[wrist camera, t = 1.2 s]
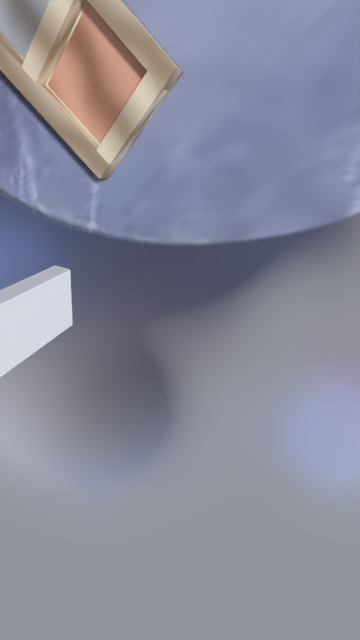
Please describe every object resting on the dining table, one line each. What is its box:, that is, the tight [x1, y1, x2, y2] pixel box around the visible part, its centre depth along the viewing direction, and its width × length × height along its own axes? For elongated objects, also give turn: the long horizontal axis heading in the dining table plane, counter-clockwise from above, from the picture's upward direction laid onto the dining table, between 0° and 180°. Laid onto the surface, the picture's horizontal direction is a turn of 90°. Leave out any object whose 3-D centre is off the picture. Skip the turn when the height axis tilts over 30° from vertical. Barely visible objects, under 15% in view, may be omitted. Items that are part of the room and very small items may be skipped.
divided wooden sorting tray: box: [0, 0, 183, 179], centre depth 33 cm, size 13×24×2 cm, turn 45°
